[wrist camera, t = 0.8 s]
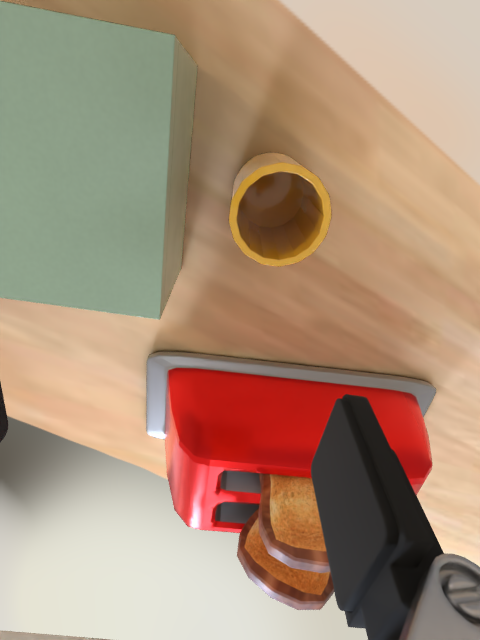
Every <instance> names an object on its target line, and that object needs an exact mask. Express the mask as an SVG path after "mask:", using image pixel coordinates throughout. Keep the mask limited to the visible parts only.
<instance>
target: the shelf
mask: <svg viewBox="0 0 480 640" xmlns="http://www.w3.org/2000/svg"><path fill="white" fill-rule="evenodd" d="M197 68H198V66H197V64H196V63H195V61H194V60H193V59H192V58H191V56H190V55H189V54H188V52H187V51H186V50H185V48H184V47H183V46H182V44H181V43H180V42H179V40H178V39H177V37H176V36H175V35H173V34H168V33H163V32H158V31H152V30H147V29H142V28H137V27H132V26H127V25H122V24H117V23H111V22H106V21H101V20H96V19H91V18H86V17H81V16H76V15H70V14H65V13H60V12H55V11H50V10H45V9H40V8H35V7H29V6H24V5H19V4H14V3H9V2H4V1H0V298H7V299H14V300H21V301H29V302H36V303H43V304H50V305H58V306H65V307H72V308H79V309H87V310H94V311H101V312H108V313H116V314H123V315H130V316H137V317H144V318H152V319H160V318H161V315H162V313H163V310H164V308H165V306H166V303H167V301H168V299H169V296H170V294H171V291H172V289H173V287H174V284H175V282H176V280H177V277H178V275H179V273H180V270H181V266H182V254H183V241H184V229H185V216H186V204H187V192H188V179H189V167H190V154H191V142H192V130H193V117H194V105H195V92H196V80H197Z"/></svg>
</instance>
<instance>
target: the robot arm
mask: <svg viewBox="0 0 480 640" xmlns="http://www.w3.org/2000/svg"><path fill="white" fill-rule="evenodd" d="M7 430H8V420H7V414H6V409H5V404H4V399H3V393H2V388H1V383H0V442H1V441H2V440H3V438H4V437H5V435H6V433H7ZM311 477H312V482H313V487H314V492H315V497H316V502H317V507H318V512H319V517H320V522H321V527H322V532H323V537H324V542H325V547H326V552H327V557H328V562H329V566H330V571H331V576H332V581H333V586H334V591H335V596H336V601H337V605H338V607H339V609H340V610H342V611H345V614H346V619H347V624H348V627H355V628H366V632H367V636H368V640H480V567H479V566H477V565H476V564H475V563H473V562H471V561H469V560H468V559H466V558H464V557H461V556H458V555H455V554H444V553H443V551H442V549H441V547H440V544H439V542H438V540H437V538H436V536H435V534H434V532H433V530H432V528H431V526H430V523H429V521H428V519H427V517H426V515H425V513H424V511H423V509H422V507H421V505H420V503H419V500H418V498H417V496H416V494H415V492H414V490H413V488H412V486H411V484H410V482H409V479H408V477H407V475H406V473H405V471H404V469H403V467H402V465H401V463H400V461H399V458H398V456H397V455H396V453H395V452H394V450H392V449H391V447H390V445H389V443H388V441H387V439H386V437H385V435H384V432H383V430H382V428H381V426H380V424H379V422H378V420H377V418H376V415H375V413H374V411H373V409H372V407H371V405H370V403H369V400H368V399H367V398H366V397H364V396H357V395H349V394H345V395H344V396H343V397H342V399H341V398H338V399H337V400H336V402H335V404H334V407H333V409H332V412H331V414H330V417H329V419H328V422H327V425H326V427H325V430H324V432H323V435H322V437H321V440H320V443H319V445H318V448H317V450H316V453H315V455H314V458H313V461H312V464H311ZM0 640H109V639H97V638H85V637H72V636H59V635H47V634H36V633H24V632H12V631H0Z"/></svg>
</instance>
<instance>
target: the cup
mask: <svg viewBox="0 0 480 640" xmlns="http://www.w3.org/2000/svg"><path fill="white" fill-rule="evenodd" d="M331 216H332V214H331V205H330V196H329V194H328V192H327V190H326V189H325V187H324V185H323V184H322V182H321V180H320V178H319V177H317V176H316V175H315V174H313V173H312V172H310V171H309V170H307V169H306V168H305V167H303V166H302V165H300V164H299V163H297V162H296V161H295V160H293V159H292V158H290V157H289V156H287V155H284V154H280V153H273V152H270V153H263V154H260V155H257V156H255V157H253V158H252V159H250V160H249V161H248V162H247V163H246V164H244V166H243V167H242V168H241V169H240V171H239V172H238V174H237V176H236V178H235V180H234V186H233V192H232V199H231V207H230V214H229V224H230V228H231V232H232V235H233V239H234V241H235V242H236V243H237V245H238V246H239V247H240V249H241V250H242V251H243V253H244V254H245V255H246V256H248V257H250V258H252V259H253V260H255V261H257V262H258V263H260V264H264V265H270V266H277V267H281V266H285V265H290V264H294V263H298V262H300V261H301V260H303V259H304V258H306V257H307V256H309V255H310V254H312V253H313V252H314V251H315V250H316V249H317V248H318V246H319V245H320V244H321V242H322V241H323V240H324V238H325V237H326V235H327V231H328V228H329V224H330V221H331Z"/></svg>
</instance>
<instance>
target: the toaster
mask: <svg viewBox="0 0 480 640" xmlns="http://www.w3.org/2000/svg"><path fill="white" fill-rule="evenodd" d="M435 393H436V388H435V387H434V386H432V385H431V384H429V383H428V382H426V381H423V380H418V379H413V378H407V377H401V376H393V375H385V374H376V373H367V372H358V371H350V370H341V369H332V368H323V367H314V366H305V365H296V364H287V363H278V362H269V361H260V360H252V359H243V358H234V357H225V356H216V355H207V354H197V353H188V352H168V351H161V352H157V353H154V354H150V355H149V356H148V359H147V421H146V430H147V433H148V434H149V435H151V436H153V437H155V438H160V439H165V451H166V464H167V476H168V481H169V485H170V490H171V495H172V500H173V505H174V509H175V511H176V512H177V514H178V515H179V516H180V517H181V519H182V520H183V521H184V522H185V523H186V525H187V526H188V527H192V528H196V529H200V530H209V531H222V532H233V533H240V536H239V543H238V552H237V556H238V558H239V560H240V562H241V564H242V566H243V568H244V570H245V572H246V574H247V576H248V577H249V578H250V579H251V580H252V581H253V582H254V583H255V584H256V585H257V586H259V587H260V588H261V589H262V590H263V591H264V592H265V593H267V594H268V595H269V596H270V597H271V598H273V599H275V600H277V601H280V602H282V603H284V604H286V605H288V606H290V607H292V608H295V609H297V610H320V609H321V608H322V607H323V606H324V605H325V603H326V602H327V601H328V600H329V598H330V597H331V596H332V594H333V593H334V586H333V581H332V576H331V571H330V566H329V562H328V557H327V552H326V547H325V542H324V537H323V532H322V527H321V522H320V517H319V512H318V507H317V502H316V497H315V492H314V487H313V482H312V477H311V464H312V461H313V458H314V455H315V453H316V450H317V448H318V445H319V443H320V440H321V437H322V435H323V432H324V430H325V427H326V425H327V422H328V419H329V417H330V414H331V412H332V409H333V407H334V404H335V402H336V400H337V399H338V398H341V399H342V397H343V396H344V395H345V394H349V395H357V396H364V397H366V398H367V399H368V400H369V403H370V405H371V407H372V409H373V411H374V413H375V415H376V418H377V420H378V422H379V424H380V426H381V428H382V430H383V432H384V435H385V437H386V439H387V441H388V443H389V445H390V447H391V449H392V450H394V452H395V453H396V455H397V456H398V458H399V461H400V463H401V465H402V467H403V469H404V471H405V473H406V475H407V477H408V479H409V482H410V484H411V486H412V488H413V490H414V492H415V494H416V495H417V493H418V492H419V490H420V488H421V487H422V485H423V483H424V481H425V480H426V478H427V476H428V475H429V473H430V471H431V469H432V458H431V451H430V443H429V436H428V433H427V429H426V426H425V423H424V419H423V417H424V415H425V413H426V411H427V409H428V407H429V405H430V403H431V402H432V400H433V398H434V396H435Z"/></svg>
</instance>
